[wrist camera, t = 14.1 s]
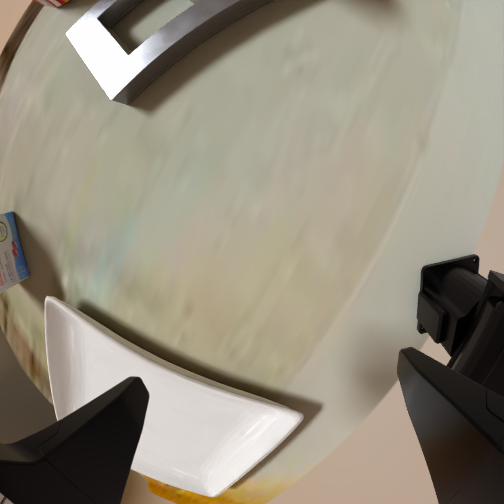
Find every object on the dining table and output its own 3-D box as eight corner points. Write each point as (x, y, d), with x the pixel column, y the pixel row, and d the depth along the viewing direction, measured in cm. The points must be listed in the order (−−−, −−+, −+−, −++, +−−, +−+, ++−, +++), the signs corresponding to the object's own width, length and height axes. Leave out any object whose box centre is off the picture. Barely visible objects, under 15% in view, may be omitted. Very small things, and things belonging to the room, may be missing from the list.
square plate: (218, 482, 33) (214, 500, 29) (67, 411, 32) (56, 426, 28) (306, 392, 25) (309, 421, 21) (63, 279, 24) (40, 294, 20)
